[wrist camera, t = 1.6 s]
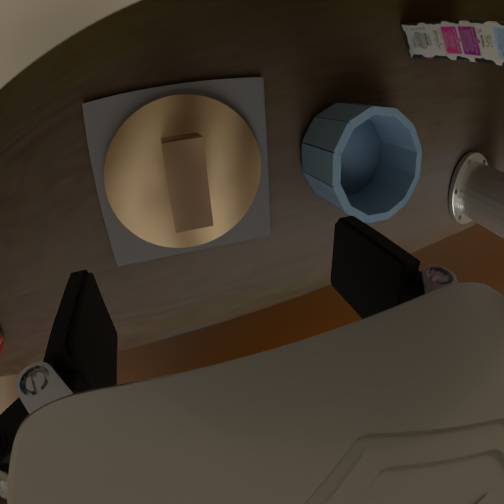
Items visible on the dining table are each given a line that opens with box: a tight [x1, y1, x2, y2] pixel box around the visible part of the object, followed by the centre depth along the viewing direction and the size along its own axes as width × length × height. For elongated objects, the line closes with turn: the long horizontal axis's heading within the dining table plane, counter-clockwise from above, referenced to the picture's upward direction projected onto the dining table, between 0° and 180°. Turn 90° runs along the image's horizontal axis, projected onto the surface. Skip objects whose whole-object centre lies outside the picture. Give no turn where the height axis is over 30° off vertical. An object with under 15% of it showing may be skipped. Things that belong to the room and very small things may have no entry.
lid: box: [104, 94, 261, 248], centre depth 23 cm, size 14×14×5 cm
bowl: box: [301, 103, 422, 223], centre depth 27 cm, size 11×11×6 cm
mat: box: [82, 77, 271, 267], centre depth 26 cm, size 16×16×1 cm
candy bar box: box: [401, 20, 504, 66], centre depth 19 cm, size 11×5×16 cm, turn 113°
